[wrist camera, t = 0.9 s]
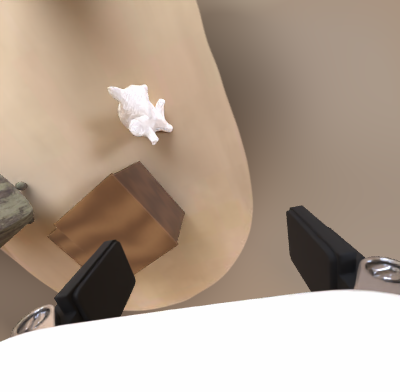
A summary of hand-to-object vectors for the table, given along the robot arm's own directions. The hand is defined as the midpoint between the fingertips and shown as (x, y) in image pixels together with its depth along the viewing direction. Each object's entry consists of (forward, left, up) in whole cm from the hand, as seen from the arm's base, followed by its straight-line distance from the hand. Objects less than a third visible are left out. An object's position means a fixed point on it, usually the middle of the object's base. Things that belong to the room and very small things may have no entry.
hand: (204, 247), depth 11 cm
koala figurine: (-11, -3, -26) cm, 29 cm away
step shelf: (-1, -21, -26) cm, 33 cm away
